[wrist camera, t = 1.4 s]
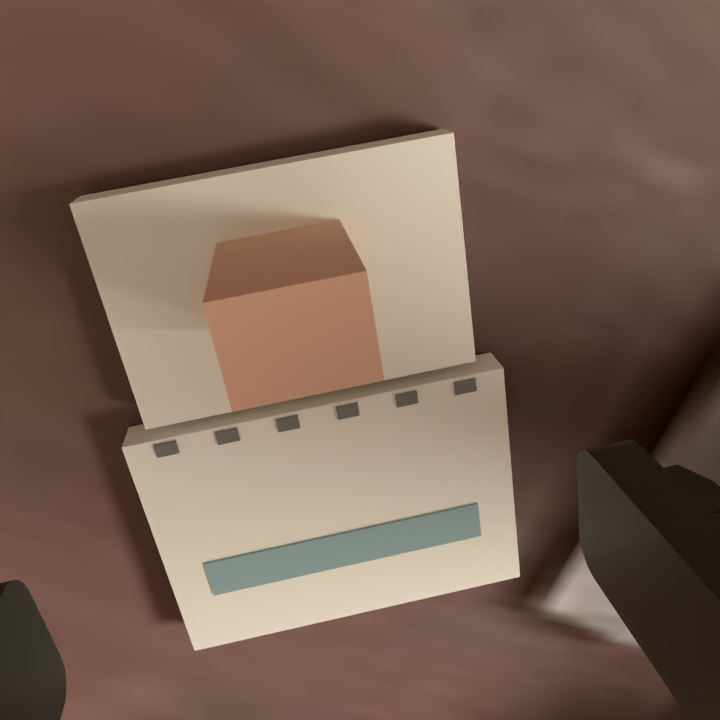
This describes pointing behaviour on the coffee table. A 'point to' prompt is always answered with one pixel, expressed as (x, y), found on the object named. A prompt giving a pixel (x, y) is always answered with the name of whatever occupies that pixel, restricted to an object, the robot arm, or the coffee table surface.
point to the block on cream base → (283, 276)
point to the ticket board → (332, 501)
